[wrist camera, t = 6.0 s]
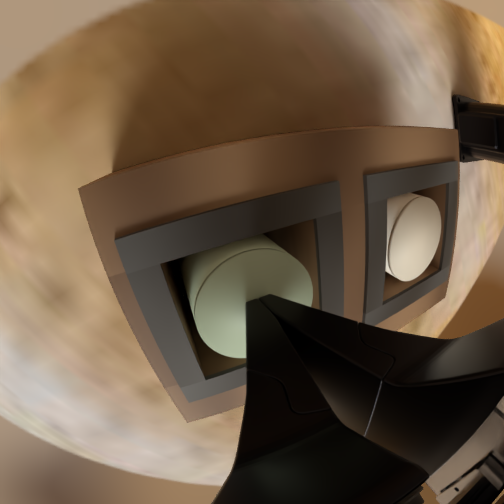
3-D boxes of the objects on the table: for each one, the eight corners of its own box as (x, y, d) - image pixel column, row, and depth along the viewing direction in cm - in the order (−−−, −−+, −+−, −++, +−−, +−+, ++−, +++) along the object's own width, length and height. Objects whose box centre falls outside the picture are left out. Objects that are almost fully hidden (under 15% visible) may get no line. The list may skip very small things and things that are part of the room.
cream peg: (369, 174, 15) (443, 191, 10) (371, 234, 17) (436, 265, 12) (316, 184, 14) (391, 206, 10) (321, 251, 16) (387, 293, 11)
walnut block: (381, 125, 15) (460, 130, 10) (385, 262, 19) (447, 298, 14) (111, 173, 11) (76, 189, 6) (170, 342, 15) (188, 426, 10)
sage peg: (248, 201, 13) (308, 234, 8) (261, 274, 15) (315, 333, 10) (167, 224, 12) (178, 274, 7) (189, 297, 14) (213, 372, 9)
